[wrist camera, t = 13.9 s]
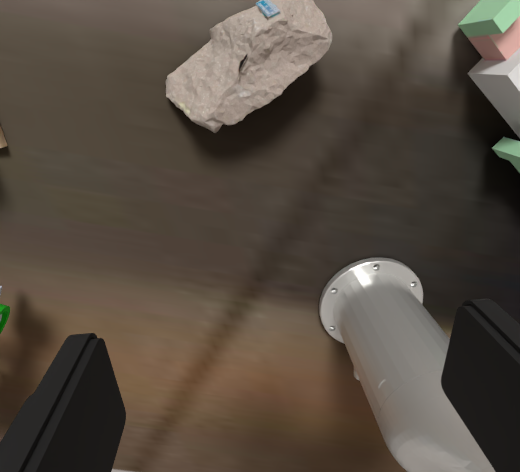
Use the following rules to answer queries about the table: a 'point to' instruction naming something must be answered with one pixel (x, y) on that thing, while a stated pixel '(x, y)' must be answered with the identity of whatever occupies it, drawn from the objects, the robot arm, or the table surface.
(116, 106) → the table surface
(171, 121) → the table surface
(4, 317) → the bracket
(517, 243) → the table surface
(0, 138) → the cradle
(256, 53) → the concrete fragment
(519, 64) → the decorative block
